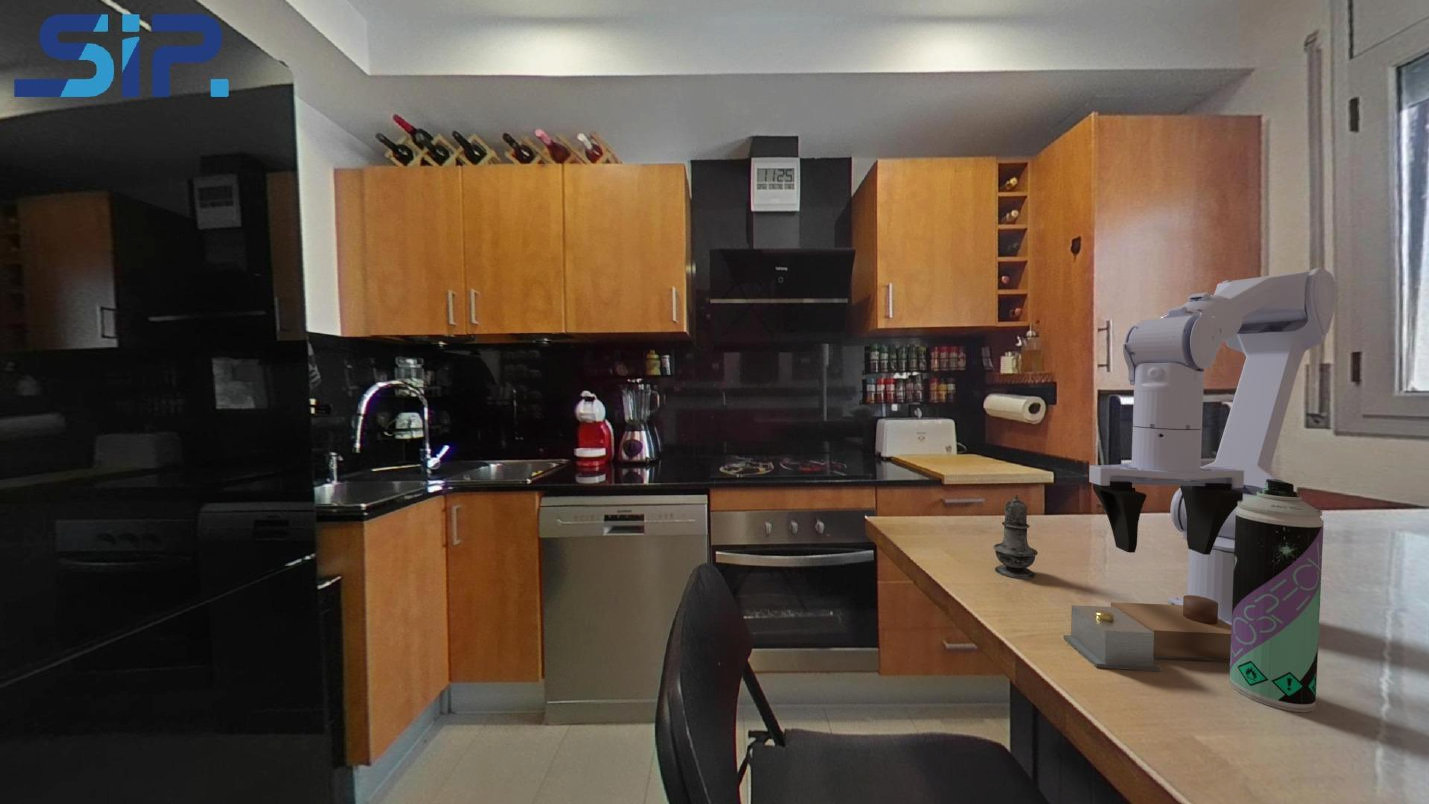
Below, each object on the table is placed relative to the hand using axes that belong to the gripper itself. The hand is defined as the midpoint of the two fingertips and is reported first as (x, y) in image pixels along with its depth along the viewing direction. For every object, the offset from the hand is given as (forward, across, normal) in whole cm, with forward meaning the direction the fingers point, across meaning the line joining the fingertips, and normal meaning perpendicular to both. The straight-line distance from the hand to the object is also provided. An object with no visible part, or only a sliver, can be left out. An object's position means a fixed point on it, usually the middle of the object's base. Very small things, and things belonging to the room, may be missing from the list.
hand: (1161, 550), depth 57 cm
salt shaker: (+11, +5, -21) cm, 24 cm away
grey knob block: (+10, +7, +3) cm, 13 cm away
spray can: (+11, -3, +9) cm, 14 cm away
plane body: (+10, -2, 0) cm, 11 cm away
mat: (+10, +7, +3) cm, 13 cm away
